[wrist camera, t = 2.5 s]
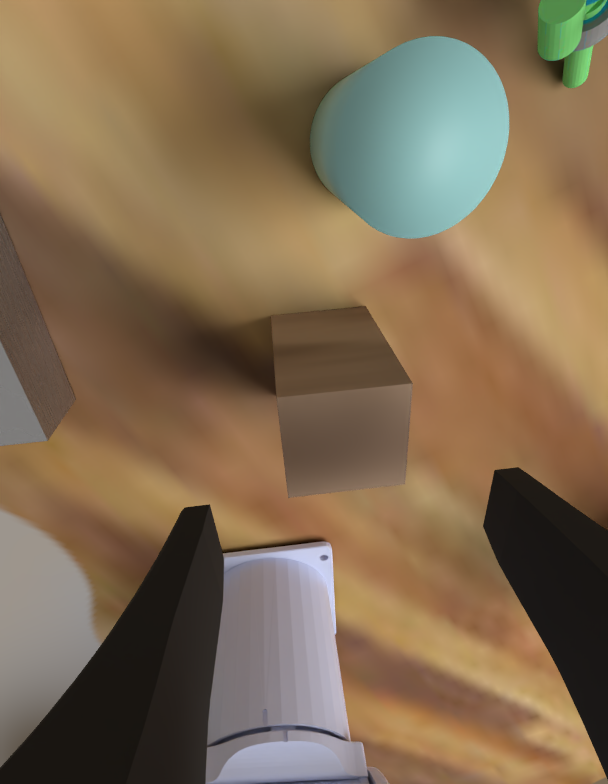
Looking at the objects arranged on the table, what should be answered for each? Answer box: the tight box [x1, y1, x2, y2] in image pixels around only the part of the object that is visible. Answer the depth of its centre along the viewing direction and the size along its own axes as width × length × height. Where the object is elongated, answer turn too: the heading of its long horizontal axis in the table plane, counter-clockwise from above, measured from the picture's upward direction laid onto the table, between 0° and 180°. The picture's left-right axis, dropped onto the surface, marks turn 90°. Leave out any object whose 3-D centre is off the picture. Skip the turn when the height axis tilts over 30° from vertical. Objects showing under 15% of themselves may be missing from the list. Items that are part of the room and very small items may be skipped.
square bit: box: [271, 306, 413, 498], centre depth 16 cm, size 4×4×6 cm
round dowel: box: [310, 36, 509, 238], centre depth 12 cm, size 4×4×6 cm
